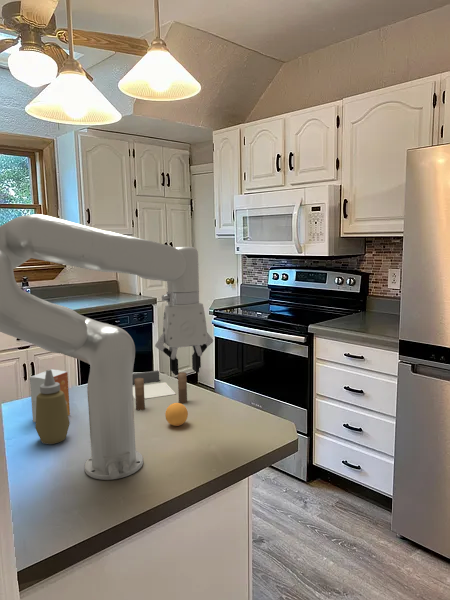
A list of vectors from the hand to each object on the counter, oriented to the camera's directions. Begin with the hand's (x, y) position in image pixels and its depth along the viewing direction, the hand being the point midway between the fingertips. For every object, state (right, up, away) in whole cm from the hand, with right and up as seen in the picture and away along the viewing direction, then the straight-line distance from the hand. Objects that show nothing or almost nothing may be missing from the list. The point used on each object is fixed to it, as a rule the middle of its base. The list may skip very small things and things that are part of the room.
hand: (185, 371), depth 113 cm
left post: (-15, -15, +23) cm, 32 cm away
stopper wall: (-18, -11, +48) cm, 52 cm away
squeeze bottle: (-34, -18, +3) cm, 38 cm away
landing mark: (-15, -12, +39) cm, 43 cm away
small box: (-39, -16, +17) cm, 46 cm away
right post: (-3, -14, +28) cm, 32 cm away
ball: (-3, -13, +11) cm, 17 cm away
